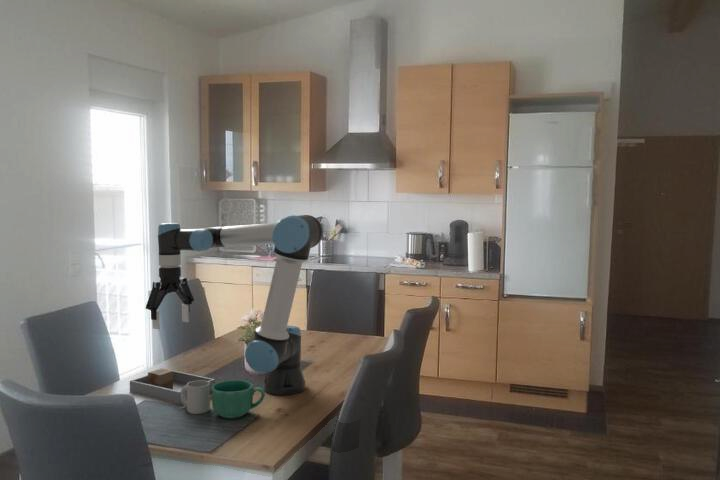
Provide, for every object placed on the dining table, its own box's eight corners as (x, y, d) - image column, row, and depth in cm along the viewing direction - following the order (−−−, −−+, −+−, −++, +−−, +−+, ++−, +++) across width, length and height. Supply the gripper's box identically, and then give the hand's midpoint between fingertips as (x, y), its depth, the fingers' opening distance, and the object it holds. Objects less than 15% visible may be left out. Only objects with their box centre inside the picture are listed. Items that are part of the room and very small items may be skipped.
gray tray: (215, 391, 221) (215, 379, 221) (180, 405, 206) (179, 392, 206) (166, 380, 232) (166, 369, 232) (129, 393, 218) (129, 380, 217)
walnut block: (173, 387, 223) (172, 370, 223) (160, 391, 218) (160, 375, 218) (161, 384, 226) (160, 368, 226) (148, 388, 221) (147, 372, 220)
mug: (207, 421, 192) (207, 391, 192) (217, 407, 205) (217, 379, 204) (260, 422, 192) (260, 392, 191) (267, 408, 205) (267, 380, 204)
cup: (202, 415, 197) (202, 388, 197) (175, 412, 200) (174, 385, 199) (213, 407, 204) (213, 381, 204) (186, 404, 207) (186, 378, 206)
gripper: (188, 262, 233) (189, 318, 235) (133, 269, 212) (135, 330, 214) (203, 263, 230) (204, 320, 231) (149, 270, 208) (150, 333, 210)
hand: (171, 325), depth 222 cm, fingers open, 13 cm apart
